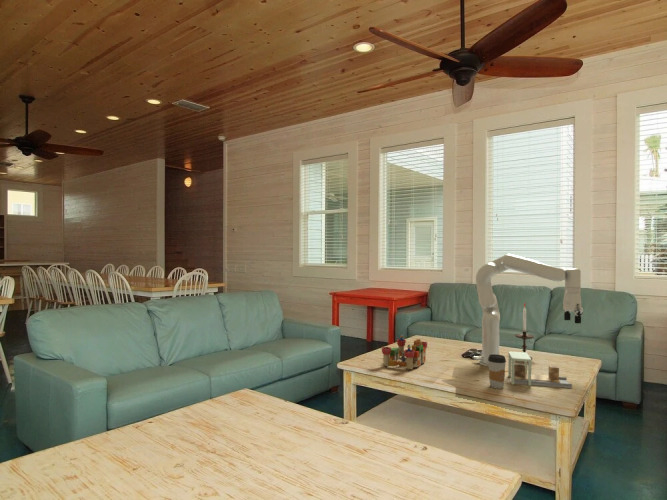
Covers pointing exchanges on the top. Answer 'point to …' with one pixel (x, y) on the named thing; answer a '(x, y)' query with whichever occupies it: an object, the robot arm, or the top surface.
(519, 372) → the cube
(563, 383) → the lane board
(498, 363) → the coffee cup
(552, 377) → the strip
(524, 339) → the candlestick
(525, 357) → the white stool
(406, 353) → the block castle
